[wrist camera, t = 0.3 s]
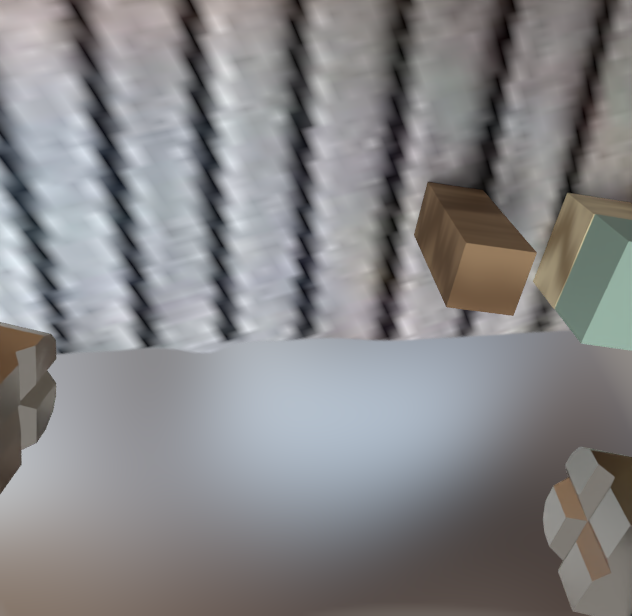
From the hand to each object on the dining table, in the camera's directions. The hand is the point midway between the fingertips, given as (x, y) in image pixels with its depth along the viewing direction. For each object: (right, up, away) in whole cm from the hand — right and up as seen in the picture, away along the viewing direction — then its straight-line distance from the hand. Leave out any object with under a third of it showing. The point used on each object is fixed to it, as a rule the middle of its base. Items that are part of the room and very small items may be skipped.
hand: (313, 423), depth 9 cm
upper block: (+23, +5, +36) cm, 43 cm away
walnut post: (+11, +9, +38) cm, 41 cm away
